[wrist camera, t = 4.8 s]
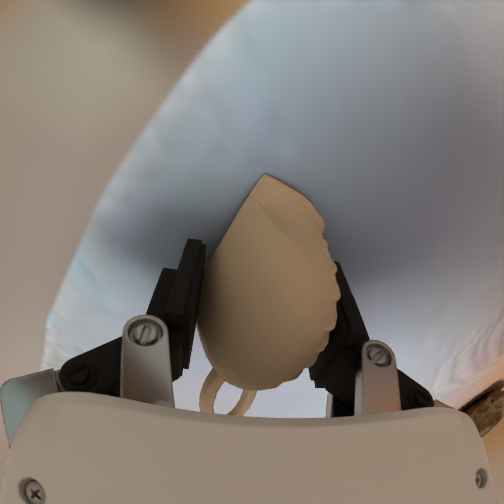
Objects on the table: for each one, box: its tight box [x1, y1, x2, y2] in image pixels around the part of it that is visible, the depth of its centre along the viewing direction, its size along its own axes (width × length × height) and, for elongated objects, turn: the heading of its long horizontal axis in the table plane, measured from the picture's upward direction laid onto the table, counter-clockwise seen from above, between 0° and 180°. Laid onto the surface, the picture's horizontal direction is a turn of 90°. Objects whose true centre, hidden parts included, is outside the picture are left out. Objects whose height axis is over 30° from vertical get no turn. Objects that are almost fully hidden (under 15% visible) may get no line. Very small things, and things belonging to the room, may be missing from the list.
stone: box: [464, 390, 504, 437], centre depth 25 cm, size 13×8×8 cm
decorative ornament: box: [196, 174, 341, 416], centre depth 10 cm, size 4×8×5 cm, turn 148°
